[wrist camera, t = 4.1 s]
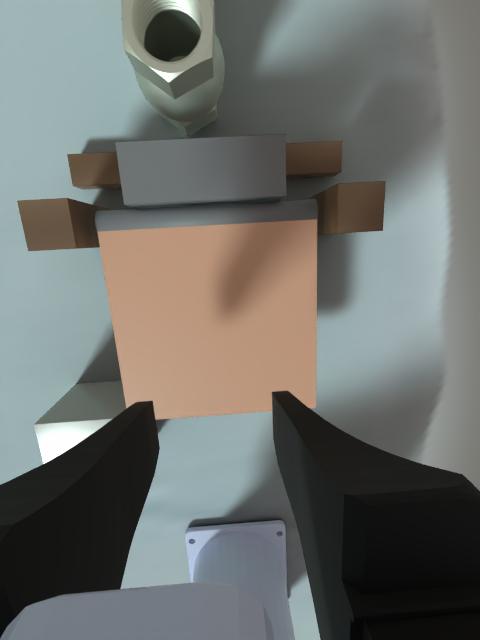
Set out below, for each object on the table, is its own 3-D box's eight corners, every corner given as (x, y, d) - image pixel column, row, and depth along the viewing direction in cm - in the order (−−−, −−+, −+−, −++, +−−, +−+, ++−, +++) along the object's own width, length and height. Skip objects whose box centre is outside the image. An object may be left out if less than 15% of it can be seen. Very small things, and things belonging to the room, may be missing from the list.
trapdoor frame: (333, 233, 20) (382, 230, 14) (92, 247, 19) (28, 251, 13) (334, 146, 19) (390, 99, 12) (77, 160, 18) (-2, 117, 12)
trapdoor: (309, 394, 18) (318, 412, 16) (136, 406, 18) (125, 427, 16) (308, 146, 15) (321, 132, 13) (97, 156, 15) (77, 143, 13)
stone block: (154, 437, 23) (135, 490, 18) (88, 442, 23) (52, 497, 18) (145, 378, 22) (122, 418, 17) (76, 383, 22) (33, 424, 17)
